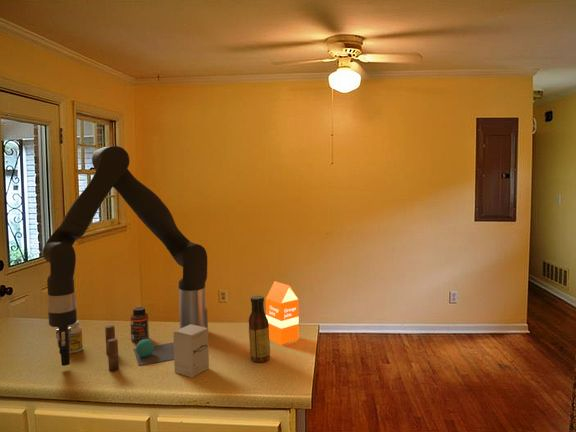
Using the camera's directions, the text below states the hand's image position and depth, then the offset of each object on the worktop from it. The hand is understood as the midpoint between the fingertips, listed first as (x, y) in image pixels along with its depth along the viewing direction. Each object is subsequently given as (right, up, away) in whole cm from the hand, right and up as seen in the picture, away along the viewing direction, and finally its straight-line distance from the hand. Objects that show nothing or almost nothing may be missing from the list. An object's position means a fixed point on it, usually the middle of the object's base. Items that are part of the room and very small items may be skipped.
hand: (65, 364), depth 137 cm
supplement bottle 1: (-4, 0, +15) cm, 15 cm away
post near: (+14, -1, 0) cm, 15 cm away
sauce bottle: (+58, -1, +6) cm, 58 cm away
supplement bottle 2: (+15, +1, +23) cm, 28 cm away
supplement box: (+38, -2, -1) cm, 38 cm away
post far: (+9, 0, +11) cm, 15 cm away
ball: (+21, +2, +9) cm, 23 cm away
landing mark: (+25, 0, +11) cm, 27 cm away
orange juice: (+64, +1, +23) cm, 68 cm away
